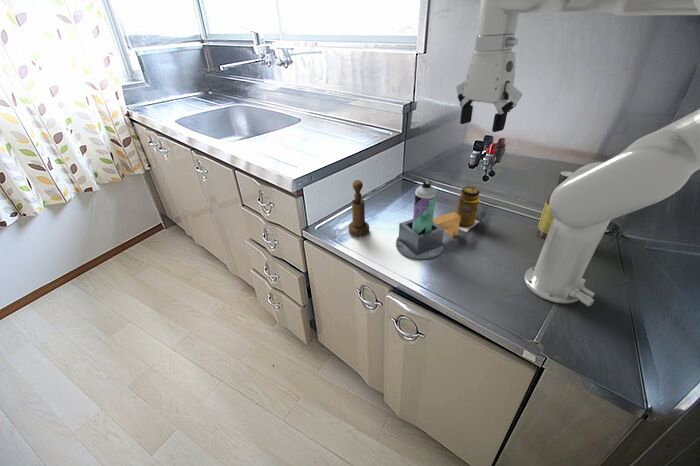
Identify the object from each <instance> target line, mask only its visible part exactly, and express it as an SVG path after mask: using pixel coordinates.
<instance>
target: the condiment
mask: <svg viewBox="0 0 700 466" xmlns="http://www.w3.org/2000/svg"><path fill="white" fill-rule="evenodd" d="M480 192H481V191H480V189H479V188H477V187H475V186H465V187H462V189H461V193H460V195H459V197H458V203H457V208H456V213H457V214H458V215H460V216H461V218H460V223H459V229H458V230H461V231H462V232H465V233H467V232H469V231H470V230H471V229H472V228H473V227H475V226H476V225H477V224H478V223H480V221H479V220H477V219H476V216H477V213H478V208H479V207H478V206H479V203H480Z"/></svg>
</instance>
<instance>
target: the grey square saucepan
mask: <svg viewBox="0 0 700 466" xmlns="http://www.w3.org/2000/svg"><path fill="white" fill-rule="evenodd" d="M460 218H461V216H460V215H458V214H457V212H455V211H452V212H450V213H446V214H442V215H440V216H437V217H435V218H434V217H433V223H432V231H429V232H427V233H424V234H421V235H418V234H417V233H416V232H415V231H413V230H412V227H413V218H411V219H409V220H406V221H403V222H400V223H398V224H399V226H398V236H397V238H396V241H395V247H396V251H398V252H399V254H400V255H402V256H403V257H406V258H407V259H411V260H415V261H431V260H434V259H436V258H439V257H440V256H441V255H442V254H443V252H444V248H445V247H444V246H445V244H444V241H443V239H444V232H445V233H446V234H448V235H449V236H450V237H451V238H453V237H456V236H458V233H459V230H460V229H459V223H460Z"/></svg>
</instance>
